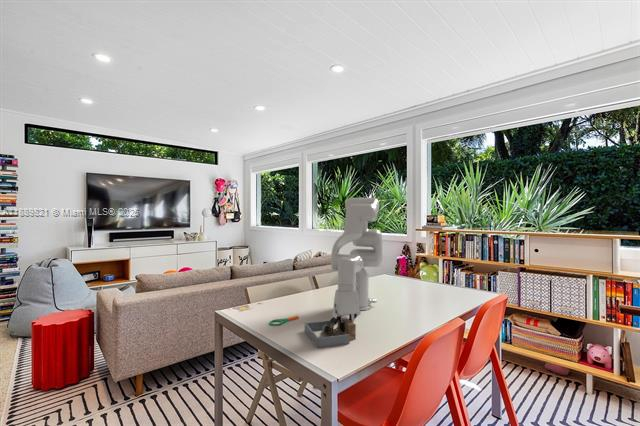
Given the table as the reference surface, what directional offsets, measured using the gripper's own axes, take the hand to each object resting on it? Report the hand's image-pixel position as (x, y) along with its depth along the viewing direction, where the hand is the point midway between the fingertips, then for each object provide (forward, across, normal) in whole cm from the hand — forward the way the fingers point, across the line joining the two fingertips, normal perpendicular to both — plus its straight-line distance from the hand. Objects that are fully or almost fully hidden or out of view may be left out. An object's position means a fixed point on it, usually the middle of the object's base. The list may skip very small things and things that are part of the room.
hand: (346, 330), depth 131 cm
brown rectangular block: (+2, 0, 0) cm, 2 cm away
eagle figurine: (+2, +6, -3) cm, 7 cm away
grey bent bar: (+2, +9, 0) cm, 9 cm away
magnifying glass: (+2, +21, -23) cm, 32 cm away
